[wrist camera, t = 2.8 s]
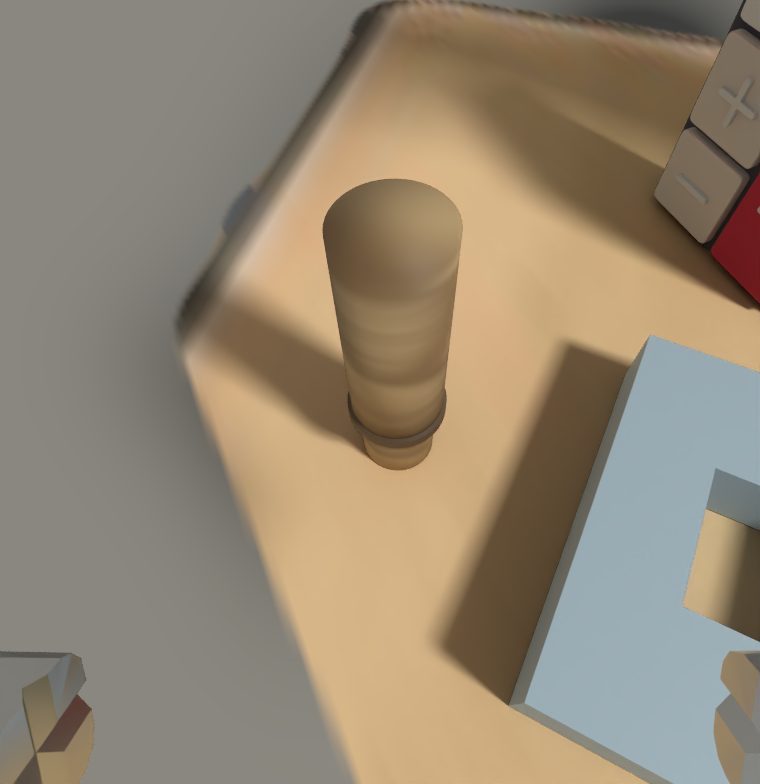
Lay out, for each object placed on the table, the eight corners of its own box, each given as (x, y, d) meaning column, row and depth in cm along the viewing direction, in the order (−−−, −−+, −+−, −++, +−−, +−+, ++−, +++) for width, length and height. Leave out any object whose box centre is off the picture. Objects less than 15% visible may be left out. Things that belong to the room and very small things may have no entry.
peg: (379, 388, 30) (361, 160, 18) (455, 420, 29) (490, 200, 17) (339, 456, 28) (289, 253, 16) (418, 493, 27) (429, 305, 15)
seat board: (625, 374, 30) (650, 334, 27) (931, 487, 26) (1000, 456, 23) (508, 705, 22) (524, 702, 19) (911, 926, 19) (1008, 965, 16)
